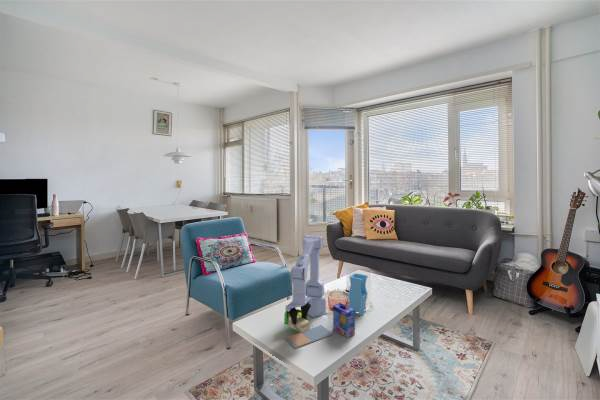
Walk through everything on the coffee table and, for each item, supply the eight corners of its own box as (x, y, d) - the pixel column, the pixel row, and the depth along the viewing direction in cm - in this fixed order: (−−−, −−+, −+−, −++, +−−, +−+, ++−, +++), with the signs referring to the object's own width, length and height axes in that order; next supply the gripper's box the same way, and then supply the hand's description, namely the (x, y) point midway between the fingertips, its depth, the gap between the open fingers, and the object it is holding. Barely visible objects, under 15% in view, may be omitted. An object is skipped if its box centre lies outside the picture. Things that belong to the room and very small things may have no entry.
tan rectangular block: (309, 330, 131) (309, 321, 131) (301, 333, 128) (301, 324, 128) (295, 322, 138) (295, 314, 137) (288, 326, 135) (288, 317, 134)
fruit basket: (302, 315, 150) (312, 305, 143) (302, 333, 144) (314, 323, 137) (282, 311, 146) (292, 300, 140) (281, 328, 140) (292, 318, 133)
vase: (360, 315, 157) (361, 279, 155) (347, 311, 162) (348, 276, 160) (367, 310, 163) (367, 275, 161) (354, 306, 168) (354, 272, 166)
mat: (321, 325, 147) (321, 324, 147) (333, 334, 139) (333, 333, 139) (284, 338, 135) (284, 337, 135) (295, 348, 127) (295, 347, 127)
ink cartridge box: (332, 329, 143) (332, 300, 142) (340, 325, 147) (340, 297, 146) (347, 338, 136) (347, 308, 134) (355, 334, 139) (355, 304, 138)
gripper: (304, 285, 140) (304, 313, 141) (281, 294, 130) (281, 323, 131) (315, 290, 135) (315, 318, 136) (291, 299, 125) (291, 329, 126)
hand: (299, 321), depth 133 cm, fingers open, 5 cm apart
